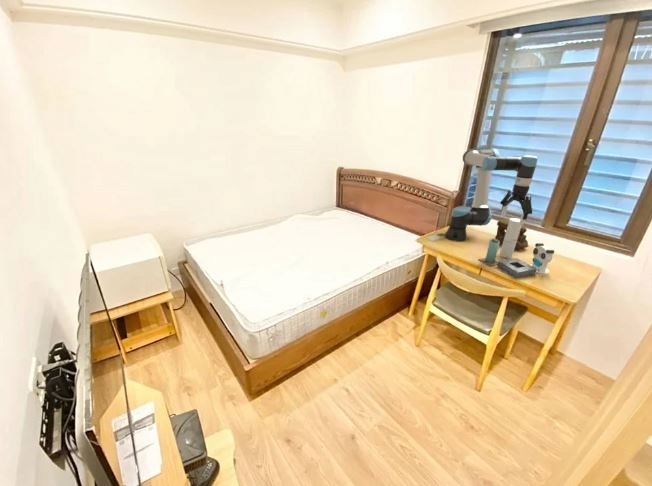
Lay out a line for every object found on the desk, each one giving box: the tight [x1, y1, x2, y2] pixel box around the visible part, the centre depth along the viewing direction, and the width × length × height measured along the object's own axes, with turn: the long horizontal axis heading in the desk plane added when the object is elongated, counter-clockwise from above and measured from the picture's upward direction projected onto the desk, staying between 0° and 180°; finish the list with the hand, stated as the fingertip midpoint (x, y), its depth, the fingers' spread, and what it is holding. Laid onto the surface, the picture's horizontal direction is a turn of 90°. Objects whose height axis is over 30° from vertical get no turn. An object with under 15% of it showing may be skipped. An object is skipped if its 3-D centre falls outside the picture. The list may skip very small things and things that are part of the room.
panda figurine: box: [528, 242, 555, 275], centre depth 176 cm, size 12×11×15 cm
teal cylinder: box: [485, 238, 500, 263], centre depth 183 cm, size 5×5×15 cm
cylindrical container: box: [499, 217, 523, 259], centre depth 190 cm, size 7×7×25 cm
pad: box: [478, 257, 498, 267], centre depth 186 cm, size 9×9×1 cm
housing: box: [496, 257, 537, 279], centre depth 176 cm, size 14×14×4 cm
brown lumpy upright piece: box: [494, 218, 529, 252], centre depth 205 cm, size 20×11×17 cm, turn 33°
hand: (511, 220), depth 172 cm, fingers open, 13 cm apart
